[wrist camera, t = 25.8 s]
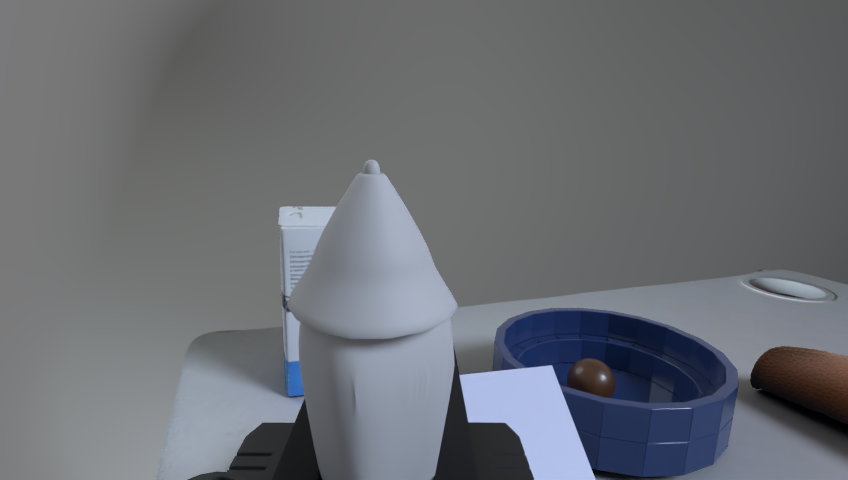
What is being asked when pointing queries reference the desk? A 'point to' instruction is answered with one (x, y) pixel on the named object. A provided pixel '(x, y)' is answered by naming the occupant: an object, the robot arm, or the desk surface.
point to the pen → (374, 340)
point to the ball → (592, 377)
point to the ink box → (296, 276)
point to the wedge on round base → (530, 418)
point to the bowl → (631, 387)
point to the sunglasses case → (805, 379)
